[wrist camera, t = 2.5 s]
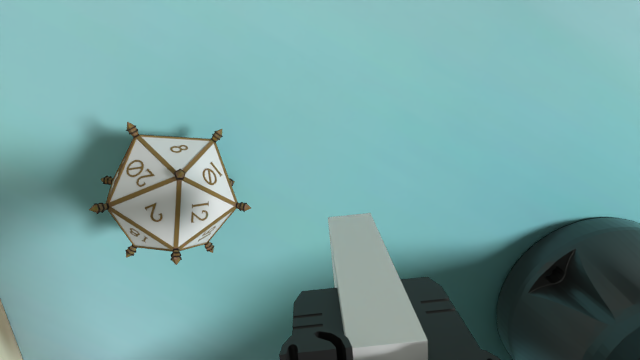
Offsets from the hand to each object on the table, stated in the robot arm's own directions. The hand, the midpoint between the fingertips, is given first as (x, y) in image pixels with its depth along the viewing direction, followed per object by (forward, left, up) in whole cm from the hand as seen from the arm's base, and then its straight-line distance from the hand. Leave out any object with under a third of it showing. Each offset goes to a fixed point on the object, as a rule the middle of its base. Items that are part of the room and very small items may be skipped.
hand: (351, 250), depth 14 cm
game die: (+10, 0, -15) cm, 18 cm away
